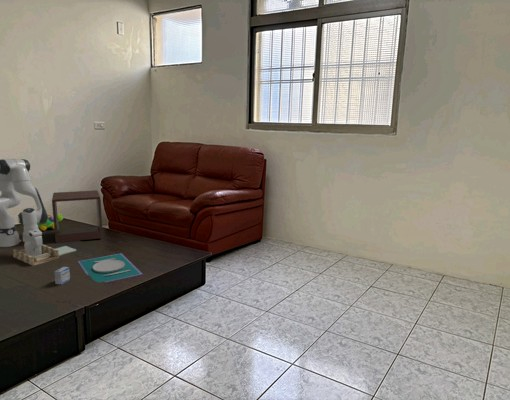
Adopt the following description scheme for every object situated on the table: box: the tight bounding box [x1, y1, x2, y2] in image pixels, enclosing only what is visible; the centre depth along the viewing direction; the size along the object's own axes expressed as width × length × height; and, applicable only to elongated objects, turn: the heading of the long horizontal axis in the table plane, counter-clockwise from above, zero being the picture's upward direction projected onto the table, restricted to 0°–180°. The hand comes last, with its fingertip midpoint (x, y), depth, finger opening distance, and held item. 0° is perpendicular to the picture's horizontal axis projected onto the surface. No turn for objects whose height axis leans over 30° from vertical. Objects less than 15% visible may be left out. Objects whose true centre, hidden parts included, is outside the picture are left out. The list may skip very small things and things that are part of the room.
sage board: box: [55, 245, 77, 257], centre depth 282 cm, size 14×14×1 cm
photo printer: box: [23, 241, 43, 257], centre depth 269 cm, size 10×4×12 cm, turn 124°
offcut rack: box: [12, 243, 60, 266], centre depth 268 cm, size 26×18×6 cm
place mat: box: [77, 252, 144, 283], centre depth 255 cm, size 45×30×2 cm
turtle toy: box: [37, 213, 64, 232], centre depth 338 cm, size 17×23×12 cm
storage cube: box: [51, 189, 104, 244], centre depth 316 cm, size 35×29×35 cm
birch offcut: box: [34, 253, 50, 261], centre depth 264 cm, size 4×10×2 cm, turn 155°
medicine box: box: [53, 266, 71, 286], centre depth 230 cm, size 8×4×9 cm, turn 170°
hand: (33, 249), depth 269 cm, fingers closed on photo printer, 5 cm apart
